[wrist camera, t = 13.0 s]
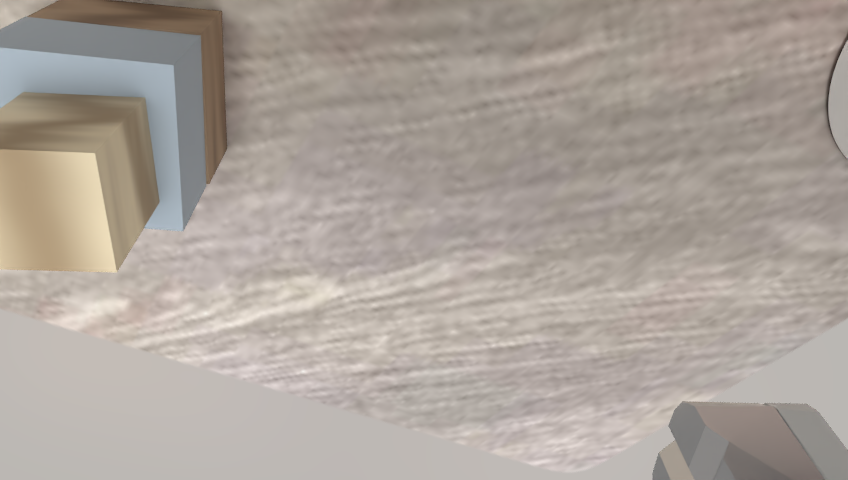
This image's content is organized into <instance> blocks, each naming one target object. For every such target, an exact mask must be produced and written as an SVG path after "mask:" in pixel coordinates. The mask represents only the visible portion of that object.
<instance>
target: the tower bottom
mask: <svg viewBox="0 0 848 480" xmlns="http://www.w3.org/2000/svg"><path fill="white" fill-rule="evenodd" d="M27 17H33V18H42V19H52V20H61V21H70V22H80V23H89V24H98V25H108V26H117V27H126V28H136V29H145V30H154V31H164V32H173V33H182V34H192V35H201V57H202V83H203V110H204V136H205V162H206V184H209V183H210V181H211V179H212V177H213V175H214V174H215V172H216V170H217V168H218V166H219V164H220V162H221V160H222V158H223V156H224V154H225V152H226V150H227V136H226V110H225V83H224V57H223V30H222V11H216V10H206V9H195V8H185V7H174V6H164V5H154V4H143V3H133V2H122V1H112V0H59V1H57V2H55V3H53V4H51V5H49V6H47V7H45V8H43V9H41V10H39V11H37V12H35V13H33V14H31V15H29V16H27Z"/></svg>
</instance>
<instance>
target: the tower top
mask: <svg viewBox="0 0 848 480" xmlns="http://www.w3.org/2000/svg"><path fill="white" fill-rule="evenodd" d="M23 92H34V93H56V94H78V95H100V96H122V97H143V98H145V99H146V107H147V114H148V121H149V128H150V135H151V143H152V150H153V157H154V164H155V171H156V179H157V186H158V193H159V200H160V202H159V204H158V206H157V207H156V209H155V211H154V212H153V214H152V216H151V217H150V219H149V221H148V222H147V224H146V225H145V227H144V228H147V229H160V230H173V231H184V229H185V227H186V225H187V223H188V221H189V219H190V217H191V215H192V213H193V211H194V209H195V207H196V205H197V203H198V201H199V199H200V197H201V195H202V193H203V191H204V189H205V187H206V162H205V136H204V110H203V83H202V57H201V35H192V34H182V33H173V32H164V31H154V30H145V29H136V28H126V27H117V26H108V25H98V24H89V23H80V22H70V21H61V20H52V19H42V18H33V17H24V18H22V19H20V20H18V21H16V22H14V23H12V24H10V25H8V26H6V27H4V28H2V29H0V108H2V107H3V106H4V105H6V104H7V103H9V102H10V101H11V100H13V99H14V98H16V97H17V96H18V95H20V94H21V93H23Z"/></svg>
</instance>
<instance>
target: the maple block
mask: <svg viewBox="0 0 848 480" xmlns="http://www.w3.org/2000/svg"><path fill="white" fill-rule="evenodd" d="M159 202H160V200H159V193H158V186H157V179H156V171H155V164H154V157H153V150H152V143H151V135H150V128H149V121H148V114H147V107H146V99H145V98H143V97H122V96H100V95H78V94H56V93H34V92H23V93H21V94H20V95H18V96H17V97H16V98H14V99H13V100H11V101H10V102H9V103H7V104H6V105H4V106H3V107H2V108H0V269H11V270H48V271H85V272H117V271H118V270H119V268H120V266H121V265H122V263H123V262H124V260H125V258H126V257H127V255H128V253H129V252H130V250H131V248H132V247H133V245H134V243H135V242H136V240H137V239H138V237H139V235H140V234H141V232H142V230H143V229H144V227H145V225H146V224H147V222H148V221H149V219H150V217H151V216H152V214H153V212H154V211H155V209H156V207H157V206H158V204H159Z"/></svg>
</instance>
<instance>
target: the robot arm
mask: <svg viewBox="0 0 848 480" xmlns="http://www.w3.org/2000/svg"><path fill="white" fill-rule="evenodd" d="M828 113H829V122H830V127H831V130H832V134H833V137H834V139H835V141H836V143H837V145H838V147H839V149H840V150H841V152H842V153H843V155H844V156H845V157H846V158H847V159H848V40H847V42H846V44H845V46H844V48H843V50H842V52H841V54H840V57H839V59H838V61H837V64H836V67H835V70H834V73H833V77H832V81H831V85H830V91H829V101H828ZM669 428H670V429H671V432H672V434H673V436H674V438H675V441H673V442H672V443H671V444H669V445H668V446H667V447H666V448H664V449H663V450H662V451H660V452H659V454H658V457H657V460H656V464H655V467H654V470H653V480H848V450H847V449H846V447H845V446H844V444H843V443H842V442H841V441H840V439H839V438H838V437H837V435H836V434H835V433H834V431H833V430H832V429H831V427H830V426H829V425H828V423H827V422H826V421H825V419H824V418H823V417H822V416H821V414H820V413H819V412H818V411H817V410H816V409H814V408H812V407H811V406H809V405H808V404H790V403H789V404H787V403H765V404H758V403H723V402H722V403H721V402H685V401H683V402H682V403H681V404H680V405H679V406H678V407H677V408H676V409H675V410H674V413H673V415H672V418H671V421H670V423H669Z"/></svg>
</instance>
